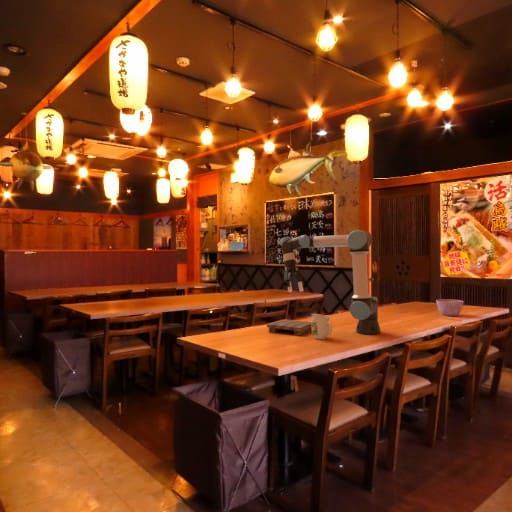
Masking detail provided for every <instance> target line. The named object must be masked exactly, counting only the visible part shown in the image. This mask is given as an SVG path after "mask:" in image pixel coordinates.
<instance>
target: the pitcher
mask: <svg viewBox="0 0 512 512" xmlns="http://www.w3.org/2000/svg"><path fill="white" fill-rule="evenodd" d="M311 319H312V321H311V322H312V324H311V329H312V331H311V334H312V336H313V337H314V339H315V338H316V339H315V340H321V339H322V340H327V338H328V337H329V336H330V335H332V332H333V326H332V323H331V322H330V316H329V315H326V314H319V313H311Z"/></svg>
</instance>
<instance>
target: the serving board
mask: <svg viewBox="0 0 512 512" xmlns="http://www.w3.org/2000/svg"><path fill="white" fill-rule="evenodd" d="M311 324H312V321H305V320H295V319H280V320H276V321H273V322H269V323H267V324H266V328H268V332H269V333H277V332H279V331H282V330H286V331H293V336H299V335H300V336H302V335H305V334H308V333H309V331H310V332H312V329H311ZM304 333H305V334H304ZM301 334H302V335H301Z"/></svg>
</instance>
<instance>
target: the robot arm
mask: <svg viewBox="0 0 512 512" xmlns="http://www.w3.org/2000/svg"><path fill="white" fill-rule="evenodd" d="M372 243H373V236H372V234H371V233H370V232H369V231H367V230H363V229H355V230H352V231H351V232H349V234H335V235H334V234H333V235H320V236H319V235H318V236H316V235H315V236H308V235H307V234H303V235H299V236H297V237H294V238H292V237H290V236H285V237H282V238H281V239H280V247H281V251H282V252H281V253H282V256H283V260H284V266H285V267H283V269H284V272H283V273H284V275H283V282H284V283H286V286H287V292H288V293H292V292H293V287H292V282H291V277H292V275H293V276H294V277H295V279H296V280H297V284H298V289H299V292H300V293H301V292H304V290H305V289H304V286H303V282H304V278H303V276H302V272H300V269H299V267H298V266H297V260H296V257H295V256H296V254H295V250H299V249H311V248H312V249H313V248H339V247H341V248H342V247H348V249H349V251H348V252H349V254H350V255H351V257H352V258H351V259H352V278H353V279H352V281H353V295H352V296H351V304H350V307H349V312H350V315H351V317H352V318H354V319H356V320H358V322H357V324H356V328H355V332H356V333H357V334H361V335H371V336H372V335H379V334H381V331H382V330H381V326H380V323H379V321H378V319H379V300H378V297H377V296H371V295H370V294H369V277H368V257H367V256H368V254H369V253H370V246H372ZM296 266H297V267H296Z"/></svg>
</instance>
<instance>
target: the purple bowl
mask: <svg viewBox="0 0 512 512" xmlns="http://www.w3.org/2000/svg"><path fill="white" fill-rule="evenodd" d="M435 302H436V306H437V310H438V312H439V313H440V314H442V315H443V316H445V317H455V316H457V315H459V314H460V313H461V312H462V310H463V306H464V304H465V303H464V302H465V301H464V300H461V299H449V298H448V299H447V298H441V299H440V298H439V299H436V300H435Z"/></svg>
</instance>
